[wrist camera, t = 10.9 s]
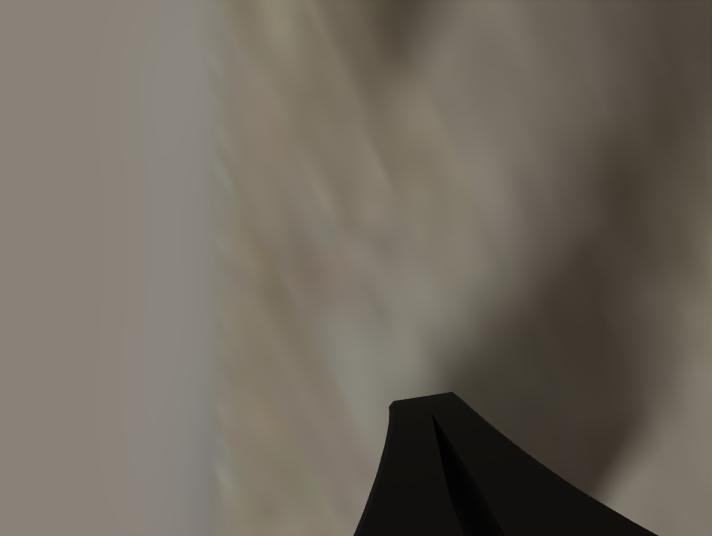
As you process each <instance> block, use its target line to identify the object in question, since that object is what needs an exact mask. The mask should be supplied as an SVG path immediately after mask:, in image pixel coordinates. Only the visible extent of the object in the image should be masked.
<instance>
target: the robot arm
mask: <svg viewBox="0 0 712 536" xmlns="http://www.w3.org/2000/svg"><path fill="white" fill-rule="evenodd" d="M354 536H658V535H656V534H654V533H652V532H650V531H649V530H647V529H645V528H643V527H641V526H640V525H638V524H636V523H634V522H632V521H631V520H629V519H627V518H626V517H624V516H622V515H621V514H619V513H617V512H616V511H614V510H612V509H610V508H609V507H607V506H605V505H604V504H602V503H600V502H599V501H597V500H595V499H593V498H592V497H590V496H589V495H587V494H585V493H584V492H582V491H581V490H579V489H577V488H576V487H574V486H573V485H571V484H570V483H568V482H567V481H565V480H564V479H562V478H561V477H559V476H558V475H557V474H555V473H554V472H552V471H551V470H549V469H548V468H546V467H545V466H543V465H542V464H541V463H539V462H538V461H537V460H535V459H534V458H533V457H531V456H530V455H528V454H527V453H526V452H525V451H523V450H522V449H521V448H519V447H518V446H517V445H516V444H514V443H513V442H512V441H510V440H509V439H508V438H507V437H505V436H504V435H503V434H501V433H500V432H499V431H498V430H497V429H495V428H494V427H493V426H492V425H491V424H489V423H488V422H487V421H486V420H485V419H483V418H482V417H481V416H480V415H479V414H478V413H476V412H475V411H474V410H473V409H472V408H471V407H470V406H468V405H467V404H466V403H465V402H464V401H463V400H462V399H461V398H459V397H458V396H457V395H456V394H454V393H453V392H449V393H443V394H436V395H430V396H423V397H417V398H411V399H404V400H398V401H393V403H392V404H391V405H390V406H389V425H388V431H387V436H386V441H385V446H384V449H383V453H382V457H381V461H380V464H379V468H378V472H377V475H376V478H375V481H374V484H373V486H372V489H371V492H370V495H369V498H368V500H367V503H366V506H365V509H364V512H363V514H362V517H361V519H360V521H359V524H358V526H357V529H356V531H355V533H354Z"/></svg>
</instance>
